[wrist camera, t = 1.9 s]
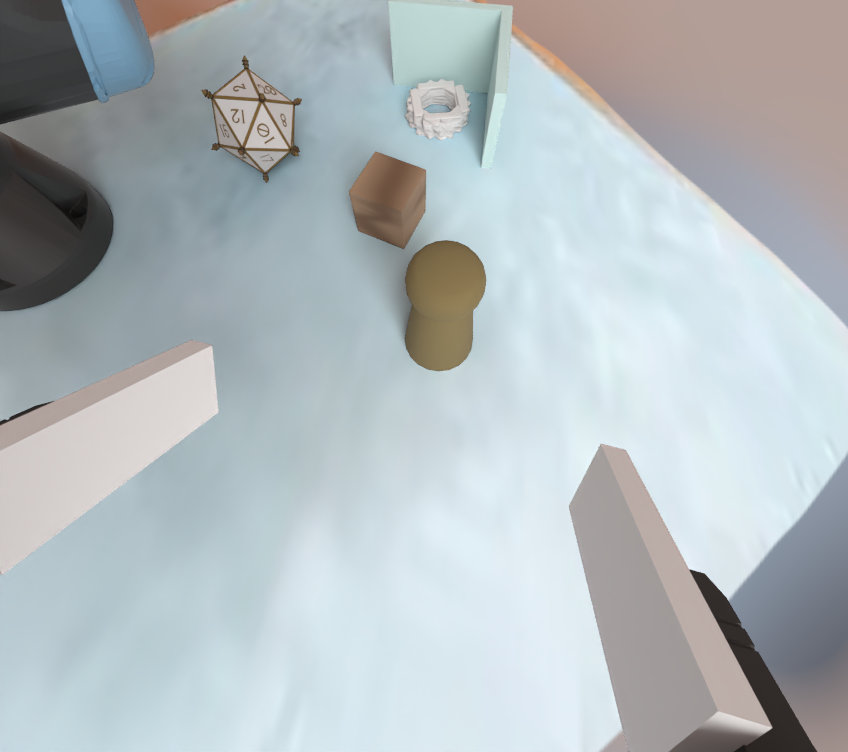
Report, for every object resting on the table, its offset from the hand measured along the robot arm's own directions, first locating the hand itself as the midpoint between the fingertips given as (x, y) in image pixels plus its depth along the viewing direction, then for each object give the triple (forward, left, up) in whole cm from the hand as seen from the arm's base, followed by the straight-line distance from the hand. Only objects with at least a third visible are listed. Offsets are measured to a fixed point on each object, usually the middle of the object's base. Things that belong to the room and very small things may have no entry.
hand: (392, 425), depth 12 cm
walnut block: (-15, +18, -18) cm, 30 cm away
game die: (-30, +17, -18) cm, 39 cm away
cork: (-4, +10, -18) cm, 21 cm away
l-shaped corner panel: (-19, +32, -18) cm, 41 cm away
